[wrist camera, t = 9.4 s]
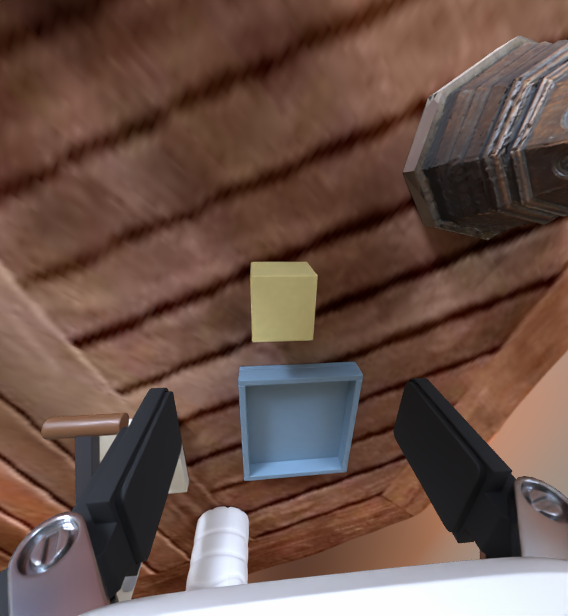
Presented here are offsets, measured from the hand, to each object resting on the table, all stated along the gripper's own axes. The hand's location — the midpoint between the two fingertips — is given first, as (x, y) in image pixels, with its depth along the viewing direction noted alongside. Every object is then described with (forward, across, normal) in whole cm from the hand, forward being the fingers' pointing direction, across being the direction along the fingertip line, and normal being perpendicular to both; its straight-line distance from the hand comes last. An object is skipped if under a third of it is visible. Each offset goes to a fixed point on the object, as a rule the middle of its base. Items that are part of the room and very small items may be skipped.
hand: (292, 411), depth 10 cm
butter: (+13, 0, -1) cm, 13 cm away
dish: (+13, -2, +13) cm, 19 cm away
